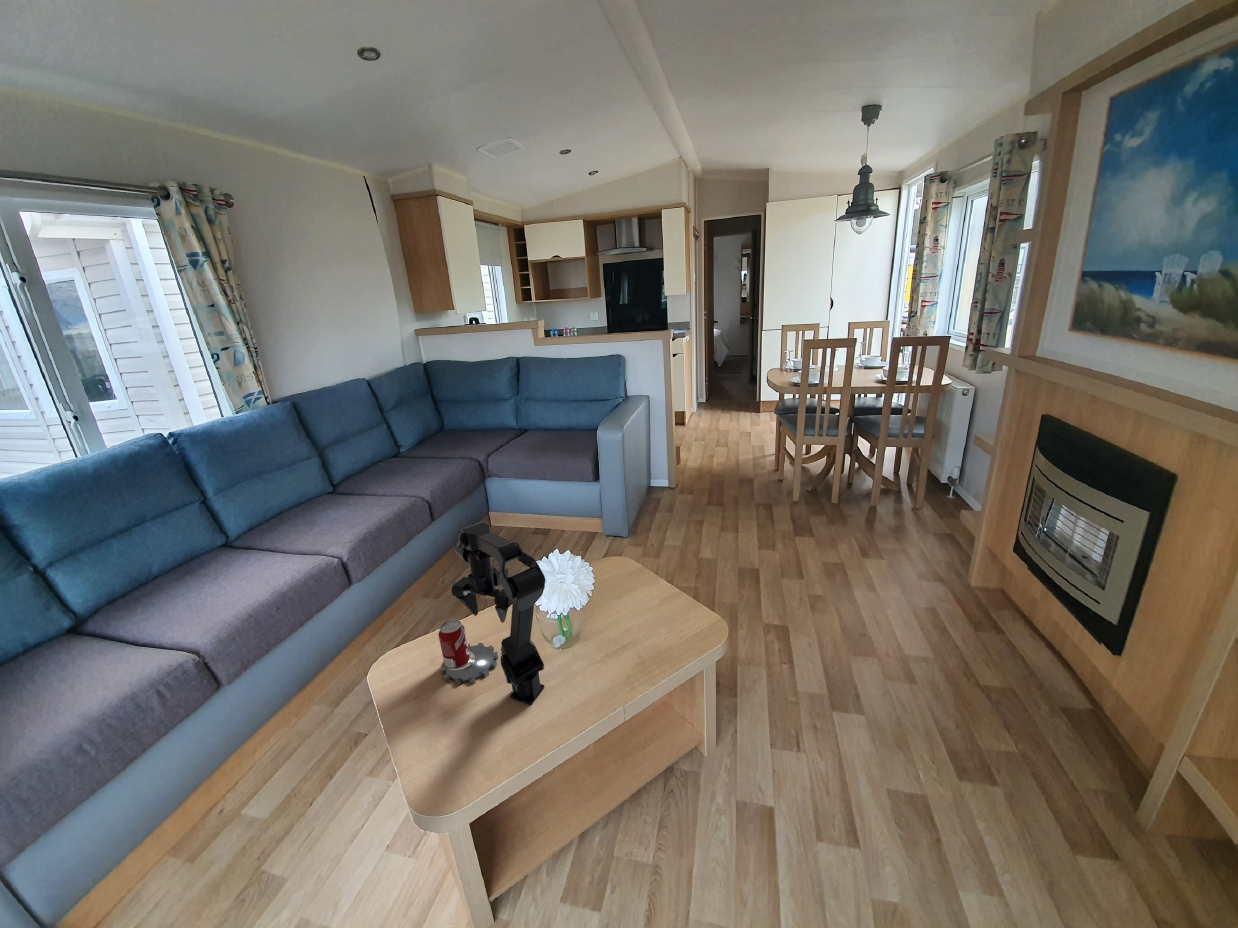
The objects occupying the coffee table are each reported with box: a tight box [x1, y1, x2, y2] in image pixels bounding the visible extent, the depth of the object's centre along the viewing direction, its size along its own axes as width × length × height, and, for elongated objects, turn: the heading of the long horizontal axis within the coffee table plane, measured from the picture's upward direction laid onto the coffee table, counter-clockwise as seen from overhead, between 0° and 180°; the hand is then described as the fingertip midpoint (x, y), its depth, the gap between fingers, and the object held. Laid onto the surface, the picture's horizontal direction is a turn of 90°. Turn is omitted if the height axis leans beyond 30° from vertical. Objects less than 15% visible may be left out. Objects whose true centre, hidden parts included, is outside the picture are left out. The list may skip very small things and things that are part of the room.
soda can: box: [437, 618, 470, 669], centre depth 134 cm, size 7×7×12 cm
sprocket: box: [440, 642, 499, 686], centre depth 136 cm, size 15×15×1 cm
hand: (489, 618), depth 134 cm, fingers open, 9 cm apart
